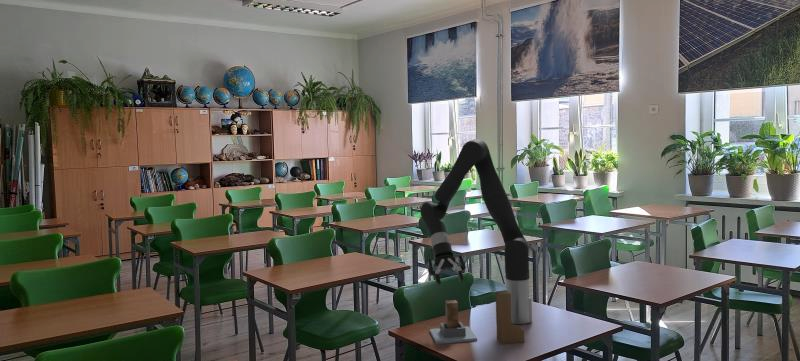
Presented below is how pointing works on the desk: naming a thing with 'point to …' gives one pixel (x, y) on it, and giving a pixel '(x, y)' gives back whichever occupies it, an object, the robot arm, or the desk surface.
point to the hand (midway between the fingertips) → (450, 282)
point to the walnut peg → (451, 314)
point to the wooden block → (506, 320)
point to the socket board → (452, 334)
